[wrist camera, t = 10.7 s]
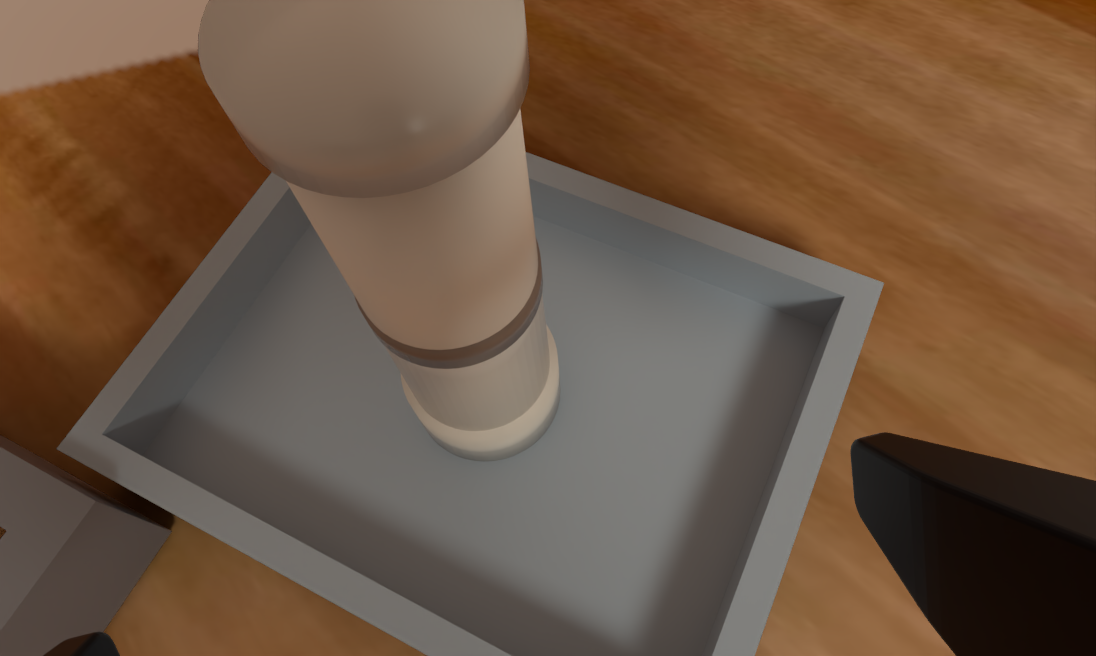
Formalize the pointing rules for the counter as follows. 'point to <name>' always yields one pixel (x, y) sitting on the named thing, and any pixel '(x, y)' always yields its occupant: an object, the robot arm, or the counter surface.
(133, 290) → the counter surface
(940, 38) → the counter surface
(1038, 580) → the robot arm
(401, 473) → the parts tray
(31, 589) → the holder
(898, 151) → the counter surface
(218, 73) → the beige banded cylinder
